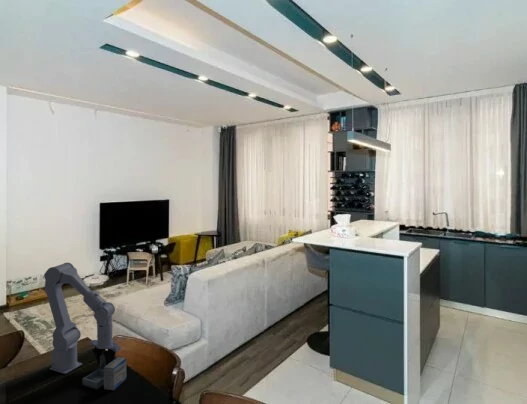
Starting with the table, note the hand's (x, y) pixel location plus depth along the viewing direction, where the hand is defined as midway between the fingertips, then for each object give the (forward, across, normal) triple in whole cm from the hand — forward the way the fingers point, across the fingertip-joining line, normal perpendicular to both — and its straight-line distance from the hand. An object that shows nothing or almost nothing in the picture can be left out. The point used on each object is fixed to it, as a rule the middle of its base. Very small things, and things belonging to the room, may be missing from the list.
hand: (105, 365), depth 136 cm
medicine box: (+2, -12, +6) cm, 14 cm away
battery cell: (+2, 0, 0) cm, 2 cm away
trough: (+2, -4, +8) cm, 9 cm away
